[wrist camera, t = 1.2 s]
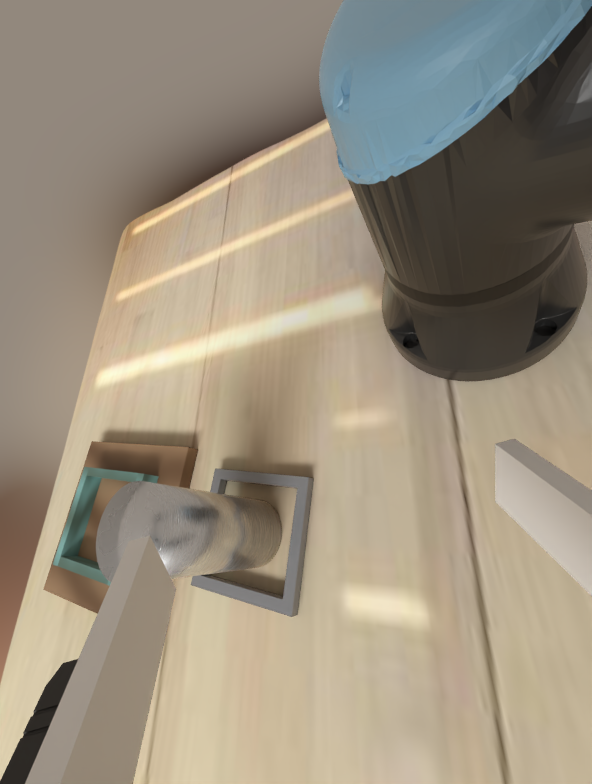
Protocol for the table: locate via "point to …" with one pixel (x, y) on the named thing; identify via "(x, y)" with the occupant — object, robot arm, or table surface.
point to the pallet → (94, 491)
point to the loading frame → (296, 552)
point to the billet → (188, 529)
